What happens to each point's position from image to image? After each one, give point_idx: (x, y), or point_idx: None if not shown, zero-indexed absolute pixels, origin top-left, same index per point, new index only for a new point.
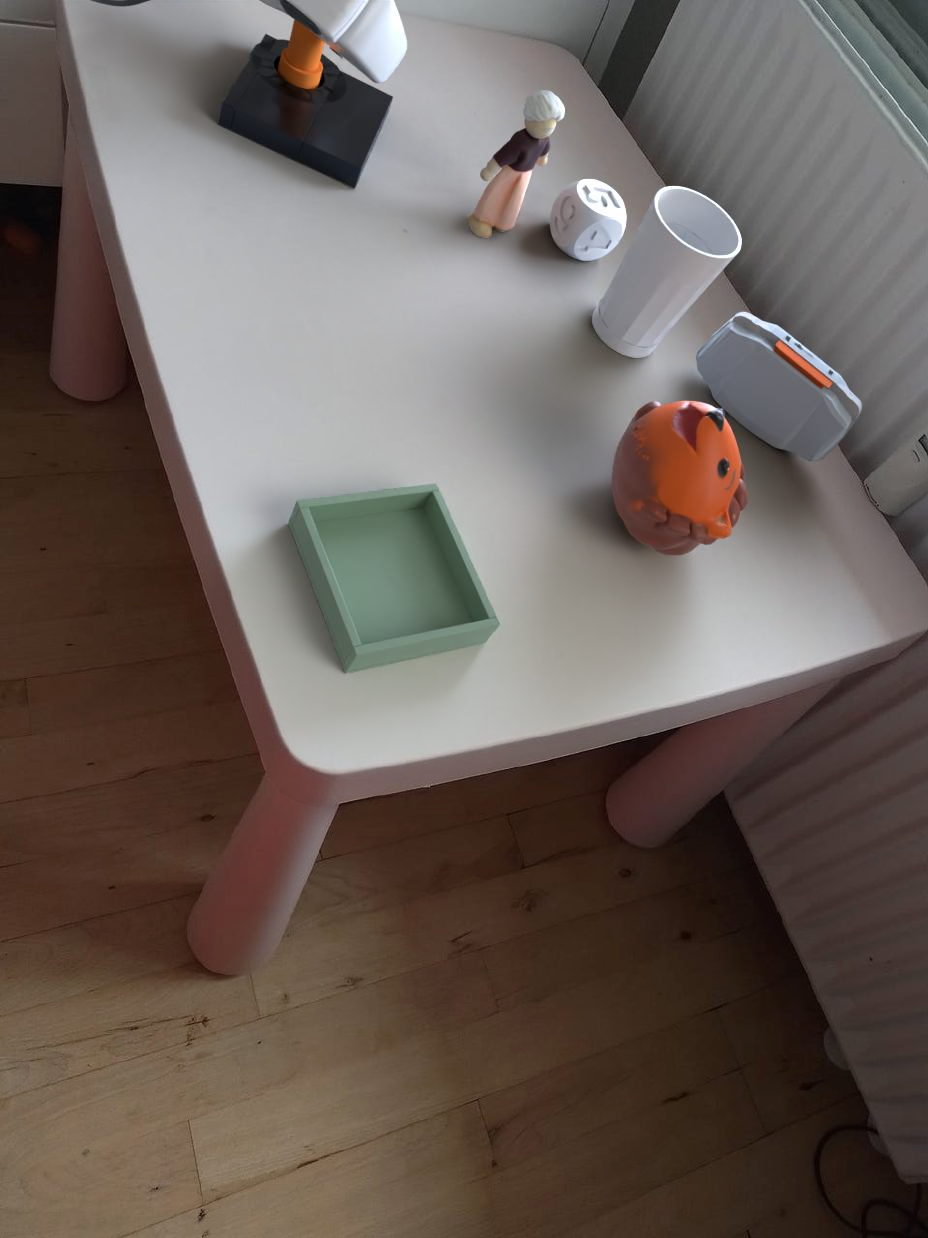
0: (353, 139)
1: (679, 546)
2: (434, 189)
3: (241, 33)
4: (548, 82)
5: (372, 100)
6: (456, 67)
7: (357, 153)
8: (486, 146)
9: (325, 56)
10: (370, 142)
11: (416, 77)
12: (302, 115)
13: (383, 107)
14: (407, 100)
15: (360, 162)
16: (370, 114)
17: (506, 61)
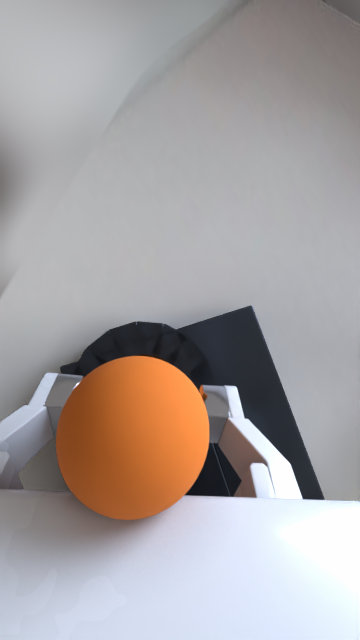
0: (280, 451)
1: None
2: (356, 378)
3: (24, 353)
4: (308, 57)
5: (242, 344)
6: (231, 136)
7: (302, 475)
8: (340, 239)
9: (145, 324)
10: (297, 432)
11: (216, 203)
12: (208, 484)
13: (259, 342)
14: (236, 255)
15: (316, 487)
16: (259, 375)
17: (258, 67)
